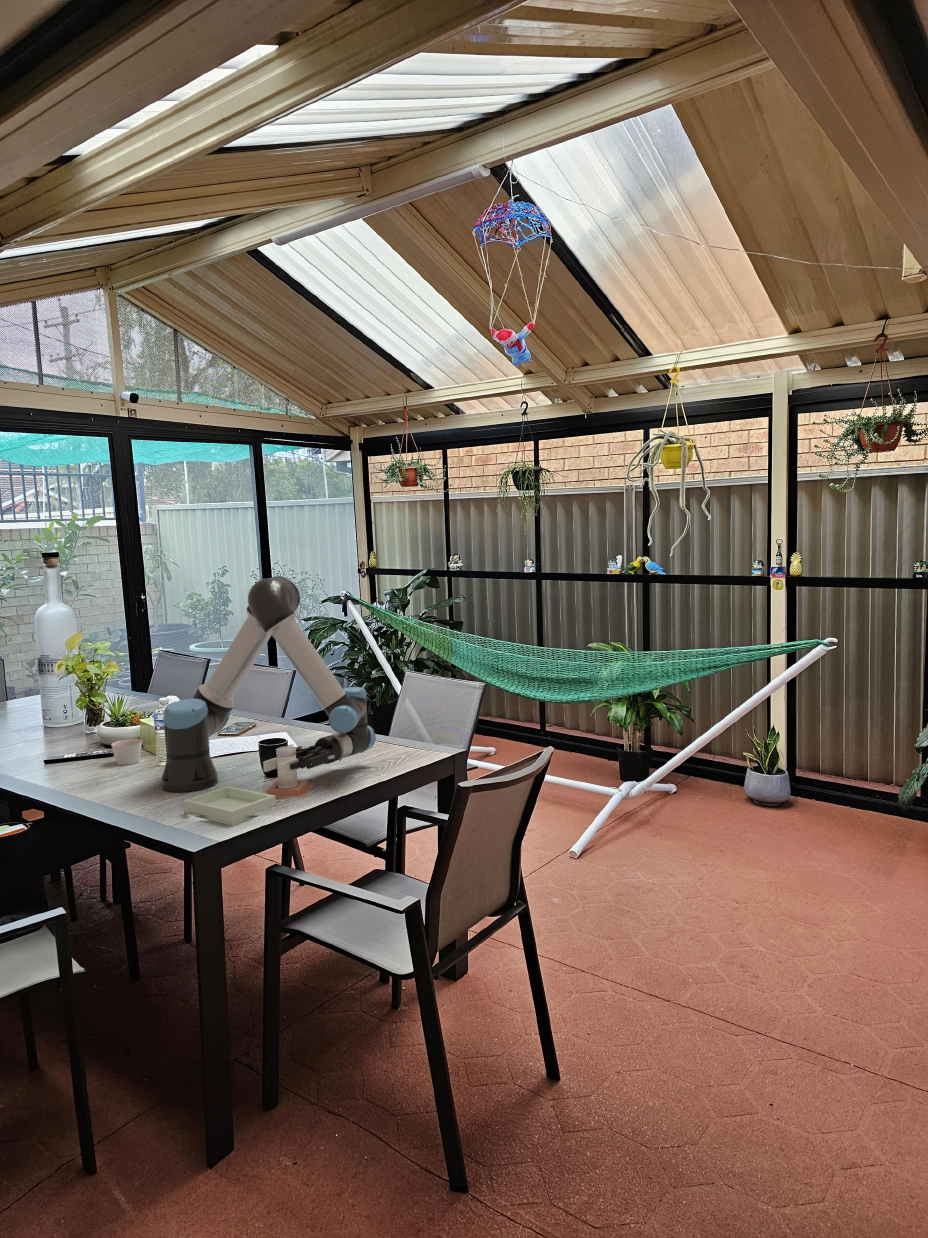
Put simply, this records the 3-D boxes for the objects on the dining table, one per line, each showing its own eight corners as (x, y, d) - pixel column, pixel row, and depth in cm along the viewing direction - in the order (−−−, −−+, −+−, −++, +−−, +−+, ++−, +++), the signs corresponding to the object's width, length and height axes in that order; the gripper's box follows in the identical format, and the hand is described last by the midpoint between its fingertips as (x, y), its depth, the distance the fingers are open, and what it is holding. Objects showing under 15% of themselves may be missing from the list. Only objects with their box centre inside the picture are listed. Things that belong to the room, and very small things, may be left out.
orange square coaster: (259, 801, 219) (259, 792, 219) (272, 787, 231) (272, 778, 231) (304, 800, 218) (304, 791, 218) (315, 787, 230) (315, 778, 230)
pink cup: (148, 758, 268) (146, 739, 267) (136, 766, 259) (134, 746, 258) (120, 759, 268) (119, 739, 268) (107, 766, 259) (106, 746, 259)
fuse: (275, 792, 222) (273, 751, 221) (281, 786, 227) (279, 746, 226) (294, 791, 222) (292, 751, 221) (300, 785, 227) (298, 746, 226)
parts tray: (184, 814, 211) (183, 800, 210) (228, 798, 222) (227, 785, 222) (232, 825, 201) (232, 811, 201) (276, 809, 212) (275, 795, 212)
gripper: (357, 765, 234) (297, 787, 215) (310, 757, 244) (249, 777, 225) (356, 738, 233) (295, 758, 214) (309, 732, 243) (247, 750, 224)
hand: (272, 768), depth 220 cm, fingers closed on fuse, 5 cm apart
